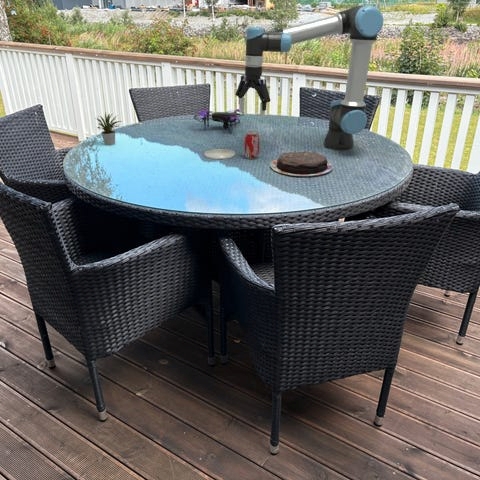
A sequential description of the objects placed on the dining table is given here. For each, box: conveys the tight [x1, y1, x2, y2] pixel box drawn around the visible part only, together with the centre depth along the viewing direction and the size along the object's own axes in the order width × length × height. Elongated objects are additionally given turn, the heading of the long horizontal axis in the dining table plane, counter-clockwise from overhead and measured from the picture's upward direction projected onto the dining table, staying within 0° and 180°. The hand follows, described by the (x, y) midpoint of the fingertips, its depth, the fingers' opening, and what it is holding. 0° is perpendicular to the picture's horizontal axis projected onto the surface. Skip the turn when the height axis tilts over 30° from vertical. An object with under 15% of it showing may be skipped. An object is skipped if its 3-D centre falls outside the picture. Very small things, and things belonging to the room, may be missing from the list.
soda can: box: [243, 130, 260, 160], centre depth 217 cm, size 7×7×12 cm
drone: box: [193, 108, 245, 135], centre depth 266 cm, size 40×10×28 cm
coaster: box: [204, 148, 236, 160], centre depth 223 cm, size 15×15×1 cm
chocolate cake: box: [269, 151, 333, 178], centre depth 205 cm, size 28×28×7 cm
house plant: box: [95, 112, 122, 146], centre depth 235 cm, size 14×14×16 cm
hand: (251, 114), depth 211 cm, fingers open, 13 cm apart
